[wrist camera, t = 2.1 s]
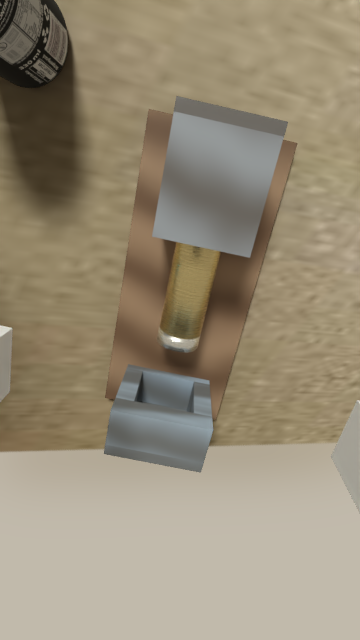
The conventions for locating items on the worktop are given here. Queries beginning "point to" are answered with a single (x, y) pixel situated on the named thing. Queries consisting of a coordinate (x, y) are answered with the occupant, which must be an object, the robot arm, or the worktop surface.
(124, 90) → the worktop surface
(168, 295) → the tube
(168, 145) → the rig
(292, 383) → the worktop surface
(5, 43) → the beverage can
